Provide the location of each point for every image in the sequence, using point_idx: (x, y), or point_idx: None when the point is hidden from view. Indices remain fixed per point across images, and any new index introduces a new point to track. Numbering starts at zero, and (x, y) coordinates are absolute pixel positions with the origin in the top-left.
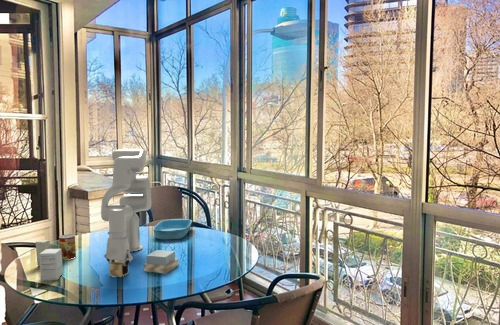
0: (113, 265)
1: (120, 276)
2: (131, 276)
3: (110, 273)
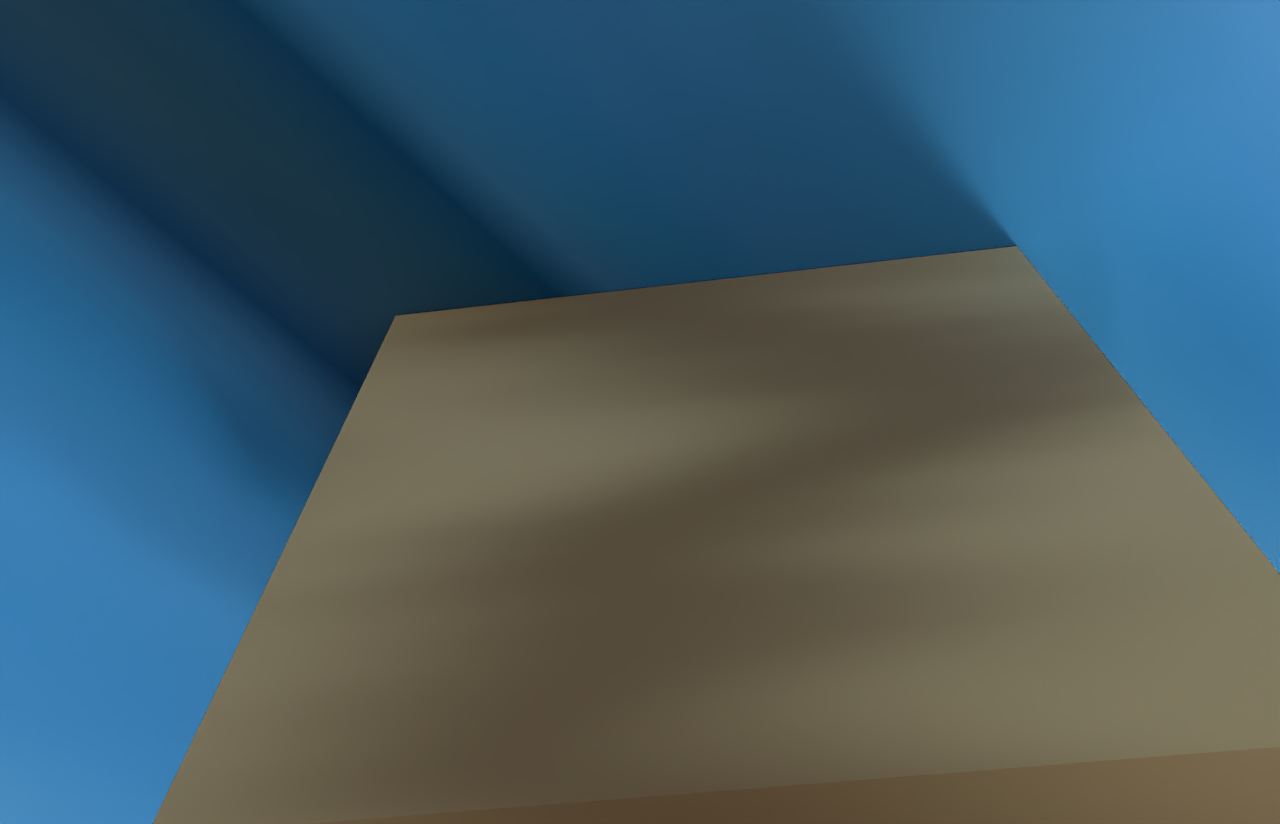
0: (877, 694)
1: (386, 344)
2: (156, 593)
3: (1015, 321)
